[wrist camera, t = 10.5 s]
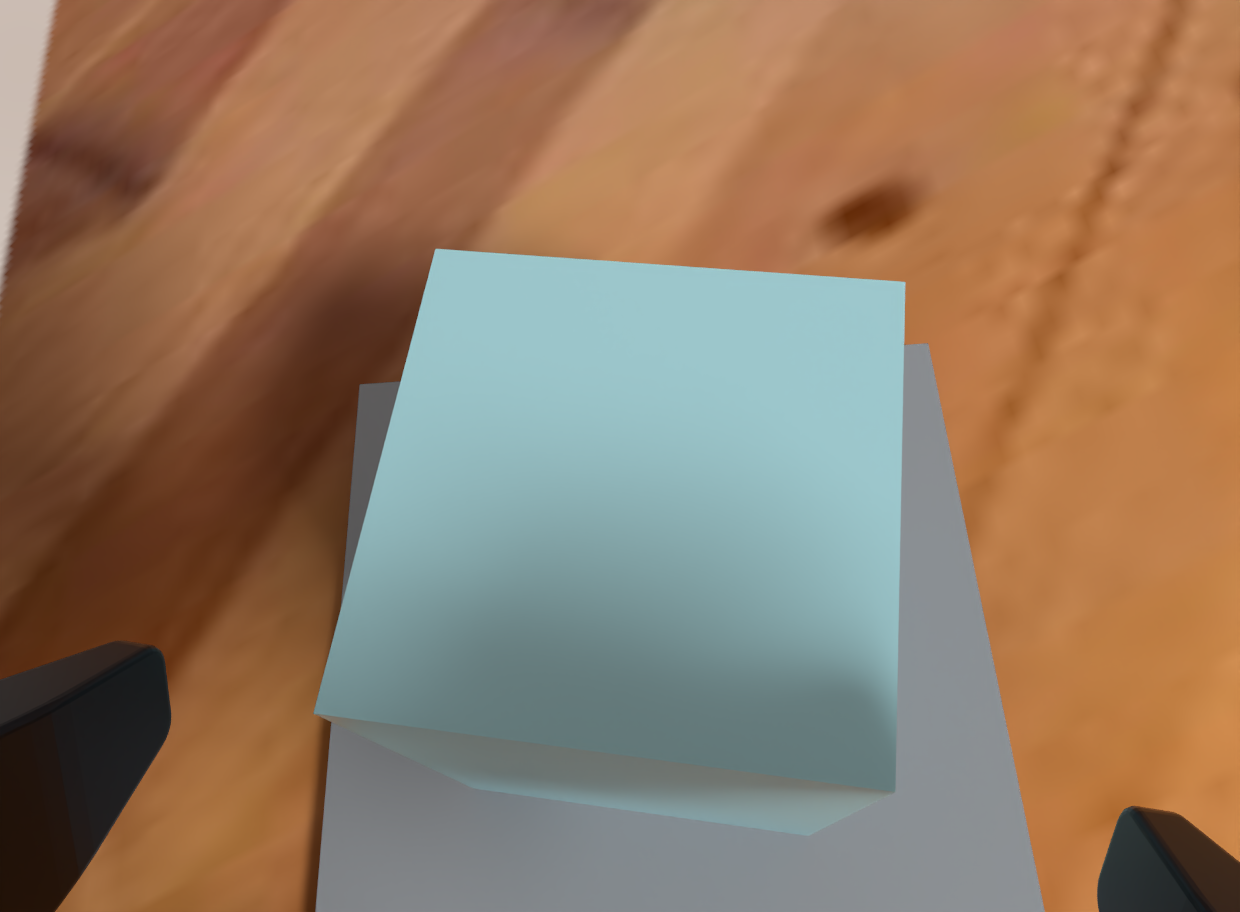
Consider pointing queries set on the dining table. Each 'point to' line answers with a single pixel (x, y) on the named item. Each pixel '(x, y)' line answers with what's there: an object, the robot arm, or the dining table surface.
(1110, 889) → the robot arm
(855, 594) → the pale blue cube block
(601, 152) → the dining table surface
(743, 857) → the post board
